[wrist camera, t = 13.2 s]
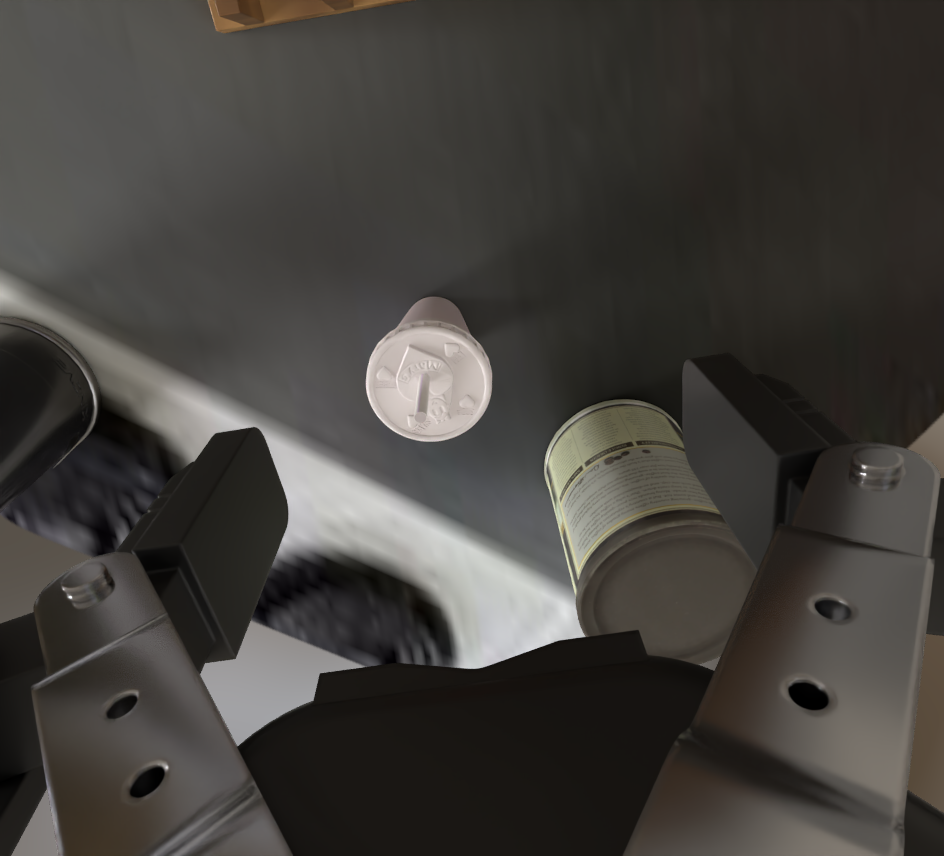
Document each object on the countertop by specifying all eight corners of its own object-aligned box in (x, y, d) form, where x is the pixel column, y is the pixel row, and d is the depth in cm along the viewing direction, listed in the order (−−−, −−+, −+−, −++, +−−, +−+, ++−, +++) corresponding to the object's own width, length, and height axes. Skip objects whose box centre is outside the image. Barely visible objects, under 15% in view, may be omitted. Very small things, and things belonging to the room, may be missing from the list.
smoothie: (463, 258, 38) (467, 337, 25) (499, 351, 40) (518, 463, 28) (366, 297, 39) (325, 391, 26) (408, 385, 41) (389, 507, 29)
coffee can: (717, 442, 44) (820, 578, 32) (623, 540, 48) (682, 696, 36) (604, 369, 41) (669, 487, 29) (514, 480, 45) (538, 626, 33)
